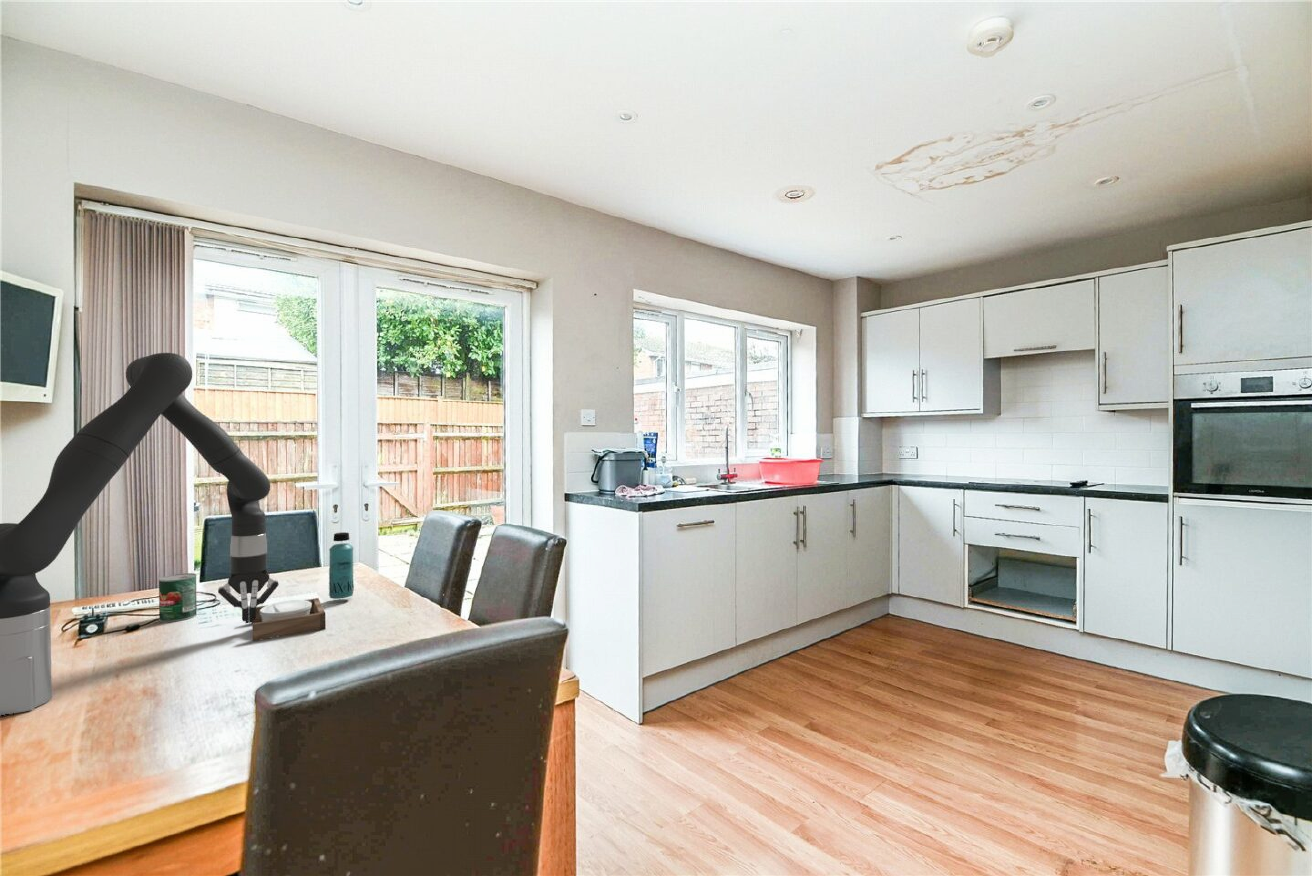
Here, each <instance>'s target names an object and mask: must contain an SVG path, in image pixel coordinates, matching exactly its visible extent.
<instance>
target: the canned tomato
mask: <svg viewBox="0 0 1312 876" xmlns="http://www.w3.org/2000/svg"><path fill="white" fill-rule="evenodd" d="M197 608H198V607H197V574H196V573H193V572H185V573H176V574H175V573H174V574H169V575H166V576H162V577H161V576H160V577H159V578H158V609H159V610H158V616H159V619H158V621H159V622H161V623H174V622H175V621H176V622H180V621H181V620H182V621H185V619H186V620H190V619H192V618H194V616H195V615H196V616H197V615H198V614H197V610H198V609H197ZM196 616H195V617H196ZM191 617H192V618H191ZM189 618H190V619H189Z"/></svg>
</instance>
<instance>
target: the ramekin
mask: <svg viewBox="0 0 1312 876" xmlns="http://www.w3.org/2000/svg"><path fill="white" fill-rule="evenodd" d="M306 600H307V599H303V600H302V599H295V600H285V601H278V602H275V603H271V604H267V605H268V606H266V605H264V606H265V607H263V608H262V609H260V615H261V618H262V622H264V621H271V620H277V619H283V618H290V617H296V616H303V615H309V614H310V608H311V607H312V603H311V602H309V601H306Z"/></svg>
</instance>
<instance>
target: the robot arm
mask: <svg viewBox="0 0 1312 876" xmlns="http://www.w3.org/2000/svg"><path fill="white" fill-rule="evenodd" d="M125 379H126V381H127V383H128V385H129V388H128V390H127V391H126V392H125V393H124V394H123V395H122V396H121V397H120V398H119V399H118V400H117V401H115V402H114V403H112V404H111V405H110V406H109V407H107V408H106V409H105V410H103V411H101V412H100V413H99V414H98V415H96V416H95V417H94V418H92V419H91V420H89V422H87V423H86V424H84V426H83V427H82V428H80V429H79V430H78V431H77V433H75V435H74V436H73V437H72V438H71V439H70V440H69V442H68V443H67V444H66V445H65V446H64V448H62V450H61V451H60V453H59V454H58V455H57V457H56V459H55V461H54V464H53V467H52V470H51V475H50V478H49V483H48V485H47V488H46V490H45V493H44V494H43V496H42V497H41V498H40V500H39V501H38V502H37V504H35V506H33V508H32V509H31V510H30V511H29V512H28V514H26V516H25V517H24V518H23V519H22V520H20V522H18V523H14V522H13V523H12V522H4V523H0V717H2V716H1V715H4V716H6V715H5V714H9V715H13V713H14V714H18V713H24V712H29V711H33V710H34V709H35V708H37V707H39V706H41V705H43V704H45V703H47V702H49V701H51V699H52V697H53V689H52V687H53V684H52V683H53V681H52V680H53V676H52V641H51V640H52V637H51V636H52V634H51V631H52V630H51V619H52V618H51V617H52V616H51V593H50V592H49V591H48V590H47V589H46V588H44V587H43V586H42V585H41V584H40V582H39V581H38V579H37V576H36V573H39V572H41V571H43V570H44V569H46V568H48V567H49V566H50V565H51V564H52V563H53V562H54V561H55V560H56V559H57V557H58V556H59V554H60V553H61V552H62V550H63V549H64V548H65V546H66V544H67V542H68V541H69V539H70V537H71V535H72V534H73V532H74V531H75V529H76V527H77V526H78V524H79V523H80V521H81V520H82V518H83V517H84V514H86V512H87V511H88V510H89V508H90V507H91V506H92V504H93V503H94V502H95V501H96V499H98V497H99V495H100V494H101V492H103V490H104V489H105V488H106V486H107V484H109V482H110V481H111V480H112V479H113V478H114V476H116V474H117V473H118V472H119V470H121V468H122V467H123V466H124V464H125V463H126V462H127V460H128V459H129V458H130V456H131V455H132V453H133V452H135V449H136V448H137V447H138V445H140V443H141V441H142V440H143V439H144V438H145V436H146V435H147V434H148V432H149V431H150V430H151V428H152V427H153V426H154V424H155V422H156V421H157V420H158V418H159V417H160V416H161V415H162V417H163V418H165V419H166V421H168V422H169V423H170V424H171V425H172V426H173V427H174V428H176V430H178V431H179V432H180V433H181V434H182V435H183V436H184V437H185V438H186V440H188V442H190V444H191V445H192V446H193V447H194V448H195V449H196V451H197V452H198V453H199V454H200V456H201V457H202V458H203V459H204V460H205V462H206V463H207V464H208V465H209V467H210V468H211V469H213V470H214V471H215V472H217V473H219V474H221V475H223V477H225V478H226V480H227V485H226V498H227V503H228V508H229V512H230V515H231V540H230V547H229V553H230V558H229V559H230V564H229V565H230V567H229V568H230V575H229V578H228V579H227V582H226V583H225V584H224V585H223V586H219V588H218V591H217V592H218V593H217V594H219V595H221V597H222V598H223V599H225V600H226V601H227V602H228V603H229V604H230V605H231V606H233V607H234V608H240V609H241V620H242V621H243V622H245V624H252V622H253V620H255V618H256V607H258V606H260V605H262V604H265V602H266V601H267V600H268V599H269V597H270V596H271V595H272V594H273V592H275V590H276V589H277V588H278V586H279V585H280V583H279V581H278V580H275V579H273V578H271V577H270V574H269V573H268V539H267V534H266V533H267V528H266V527H267V524H266V523H267V522H266V521H267V520H266V519H267V518H266V513H265V512H264V511H263V510H262V509H261V507H260V501H261V500H263V499H265V498H267V496H268V495H269V493H270V491H271V483H270V480H269V478H268V476H267V475H266V473H265V472H264V471H262V469H260V467H258V466H257V465H256V464H255V463H254V462H253V461H252V460H251V459H250V458H248V457H247V456H246V455H245V454H244V452H243V451H242V449H241V448H239V446H238V444H237V443H236V442H235V441H234V440H233V439H232V437H231V436H230V435H229V434H228V433H227V431H226V430H224V429H223V428H222V427H221V426H220V425H218V423H216V422H215V421H213V420H212V419H211V418H209V417H208V416H206V415H205V414H203V413H202V412H201V411H200V410H198V409H197V408H196V407H195V406H194V405H193V404H192V403H191V402H190V401H189V400H188V399H187V398H186V397H185V395H184V394H183V393H184V392H185V391H186V389H188V387H189V386H190V384H191V382H192V380H193V369H192V366H191V364H190V362H189V361H188V360H187V358H185V357H184V356H182V355H181V354H177V353H174V352H173V353H172V352H158V353H153V354H149V355H147V356H143V357H139V358H137V359H134V360H133V361H131V362H130V363H129V365H127V367H126V369H125ZM265 585H266V587H267V588H266V589H265V591H264V592H263V593H262V594H261V596H259V598H258V593H259V592H260V591H261V590H262V589H263V588H264V586H265ZM231 589H233V590H234V591H235V592H236V593H237V594H238V595H240V599H241V600H238V599H237V598H236V597H235V596H234V595H233V594H232V593H231ZM248 594H250V601H248Z"/></svg>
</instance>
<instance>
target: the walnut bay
mask: <svg viewBox="0 0 1312 876" xmlns="http://www.w3.org/2000/svg"><path fill="white" fill-rule="evenodd" d="M305 600H306V601H309V602H311V603H312V607H311V608H310V614H309V615H303V616H296V617H290V618H283V619H277V620H271V621H264V622H262V618H261V615H260V609H262V608H263V607H265V606H268V605H269V604H267V605H258V606H256V618H255V620H253V622H252V623H251V625H252V642H257V641H256V640H258V641H261V640H260V639H264V640H267V639H266V638H270V637H276V638H278V637H277V636H282V637H286V636H287V635H288V636H292V635H293V636H294V635H298V633H299V634H304V633H303V632H305V633H309V631H311V632H316V631H315V630H317V631H321V629H323V630H326V624H327V623H326V612H325V610H324V607H323V605H322V603H321V601H320V599H319V597H316V598H310V599H309V598H308V599H305ZM270 639H271V638H270Z"/></svg>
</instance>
